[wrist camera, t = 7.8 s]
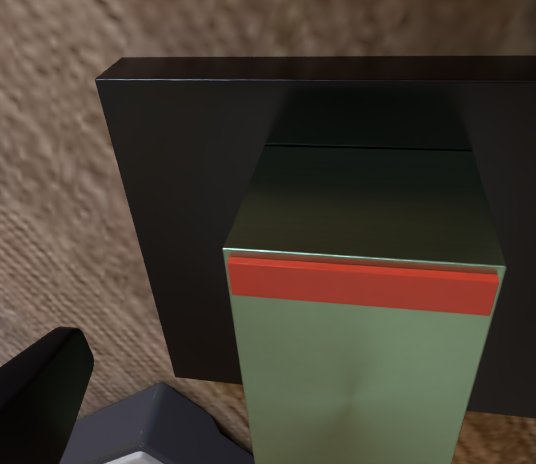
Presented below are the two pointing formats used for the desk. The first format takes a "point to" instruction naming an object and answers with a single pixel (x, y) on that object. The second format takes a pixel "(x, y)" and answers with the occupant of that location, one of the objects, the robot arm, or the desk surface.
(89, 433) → the calculator
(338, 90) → the black square platform
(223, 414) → the desk surface
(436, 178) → the box
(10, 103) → the desk surface
